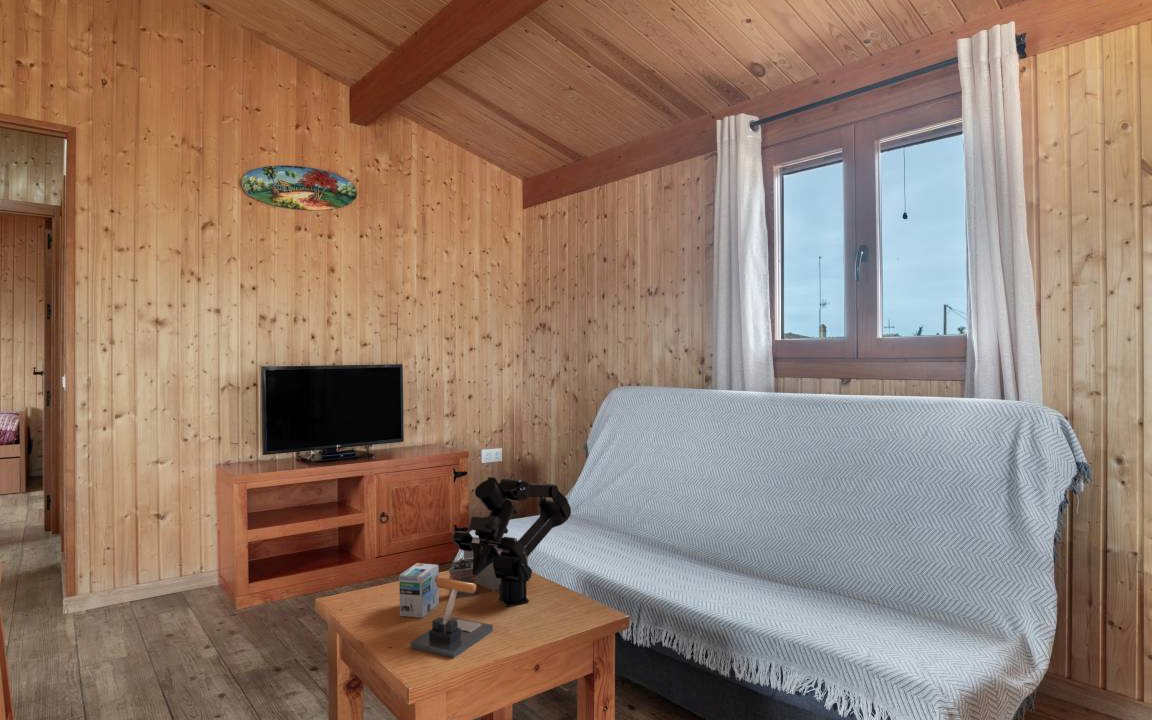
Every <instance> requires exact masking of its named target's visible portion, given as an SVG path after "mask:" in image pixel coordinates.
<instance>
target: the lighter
mask: <svg viewBox="0 0 1152 720" xmlns="http://www.w3.org/2000/svg"><path fill="white" fill-rule="evenodd" d="M452 563H453V567H451V568H449V569H448V572H449V579H450V580H456V581H462V582H468V583H474V584H476V591H475V592H474V593H468V592H462V591H457V595H456V598H462V597H470V596H475V595H476V594H479V590H478V584H477V576H475V575H473V574H472V571H473V565H471V564H470V563H473V558H467V559H464V557H461V558H459V559H456V560H453V561H452ZM466 564H468V565H467V566H466ZM451 591H452V590H450V589H449V595H448V596H449V597H450V594H451Z"/></svg>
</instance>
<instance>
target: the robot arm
mask: <svg viewBox="0 0 1152 720" xmlns="http://www.w3.org/2000/svg"><path fill="white" fill-rule="evenodd" d="M474 495H475V497H477V499H478V500H479V502H481V504H482V505H483V507H484V508H485V509H486V510H487V511H489V513H488V515H487V516H484V517H479V516H471V517H470V520H469V521H470V522H469V526H468V530H473V531H474V534H475V536H473V535H471V533H470V532H469V531H462V530H457V531H455V532H454V533H453V535H452V537H451V540H452V542H453V543H454V544H455V545H456V547H458V549H459V550H460V551H463V552H464V551H470V552H471V551H472V550H473V571H472V574H473V575H475V576H477V575H478V574H479V573H480V572H481V571H483V570H484V569H485V568H486V567H487V566H488V565H489V564H491V563H492V562H493V567H494V571H495V575H496V578H500V579H501V584H500V585H499V590H498V591H499V596H498V600H499V601H500V602H501V603H503V604H504V605H505V606H506V607H511V606H515V605H520V604H524V603H525V604H526V603H529V602H530V599H529V598H528V597H527V582H529V581H530V579H532V573H533V570H532V568H531V567H530V566H529V565H528V563H529V562H528V561H529V560H528V557H529V556H530V555H531V554H532V552H534V550H535V549H536V547H538V545H539V544H540V543H541V542H542V541H543V540H544V539H545V537H546V536H547V535H548V534H549V532H550V531H551V530H552V529H553V528H556V527H559V526H562V525H563V524H564V523H566V522H567V521H568V520H569V519H570V517H571V514H572V509H571V505H570V504H569V501H568V498H567V497H566V496H564V495H563V494H562V493H561V492H560V490H559V488H558V486H557V485H556V484H554V483H547V482H545V483H544V482H542V483H533V482H531V483H529V481H526V480H524V479H517V478H505V477H504V478H501V479H500V482H498V480H497V478H496V477H491V476H490V477H489V476H488V477H487V479H486V480H483V481H482V482H480V483H479V484H478V485H477V486H476V488H475V489H474ZM529 498H539V501H538V507H539V517H538V518H537V519H536V521H534V522H533V524H532V525H530V527H529V528H528V529H527V530H526V531H525V533H524V534H523V535H522V536H521V537H520V538H519V539H517V538H516V537H509V536H504V535H505V534H506V535H507V534H508V532H509V529H508V525H509V523H510V520H511V517H512V516H513V515H514V516H517V515H518V510H517V507H516V504H514V503H513V502H523V501H526V500H528V499H529ZM547 498H551V499H552V500H551V499H547ZM511 501H513V502H511Z"/></svg>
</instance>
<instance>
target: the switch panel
mask: <svg viewBox="0 0 1152 720" xmlns="http://www.w3.org/2000/svg"><path fill="white" fill-rule="evenodd" d="M443 619H444V617H439V616H438V617H437V618H435V619H433V620H431V621H432V622H431V626H432V627H431V628H430V629H429V630H428V631H426V632H425V633H423V634H421V635H420V636H418V637H416V638H414V639H413V640H411V641H410V647H409V648H410V649H412V650H416V651H420V652H425V653H428V654H429V653H430V654H433V655H437V656H442V657H447V658H451V659H454V658H456V657H457V656H459V655H460V654H462V653H464V652H465V651H466V650H467V649H470V647H472V646H473V645H475V644H476V643H477V642H479V641H481V640H482V639H483V638H485V637H486V636H488V635H489V634H491V633H492V632H493V631H494V630H493V629H494V628H493V627H494V625H493V624H489V623H486V622H485V623H484V622H480V621H475V620H469V619H464V618H460V617H456V616H450V620H449V622H447V623H446V625H444V624H443Z"/></svg>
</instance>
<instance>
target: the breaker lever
mask: <svg viewBox="0 0 1152 720" xmlns="http://www.w3.org/2000/svg"><path fill="white" fill-rule="evenodd" d="M436 586H437V587H439V589H444V590H445V589H446V590H449V591H450V590H452V591H451V594H450V596H449V598H448V602H447V606H446V609H445V612H444V616H443V618H444V619H443V624H444V625H446V623H447V622H449V620H450V618H451V617H452V613H453V609H454V605H455V601H456V598H457V597H456V595H457V591H462V592H468V593H474V592H475V591H476V584H474V583H468V582H462V581H456V580H450V578H442V577H439V578H438V579H437V582H436Z"/></svg>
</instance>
